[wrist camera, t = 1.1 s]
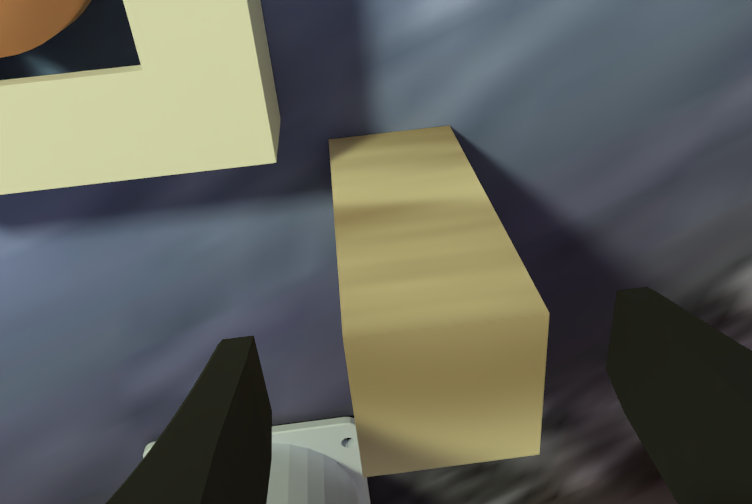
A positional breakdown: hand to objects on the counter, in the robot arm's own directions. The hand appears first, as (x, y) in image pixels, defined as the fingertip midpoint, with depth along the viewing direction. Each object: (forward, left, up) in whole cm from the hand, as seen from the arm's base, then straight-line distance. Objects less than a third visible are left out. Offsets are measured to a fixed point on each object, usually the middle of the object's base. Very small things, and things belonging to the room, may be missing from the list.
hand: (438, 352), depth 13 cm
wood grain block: (0, 0, -8) cm, 8 cm away
